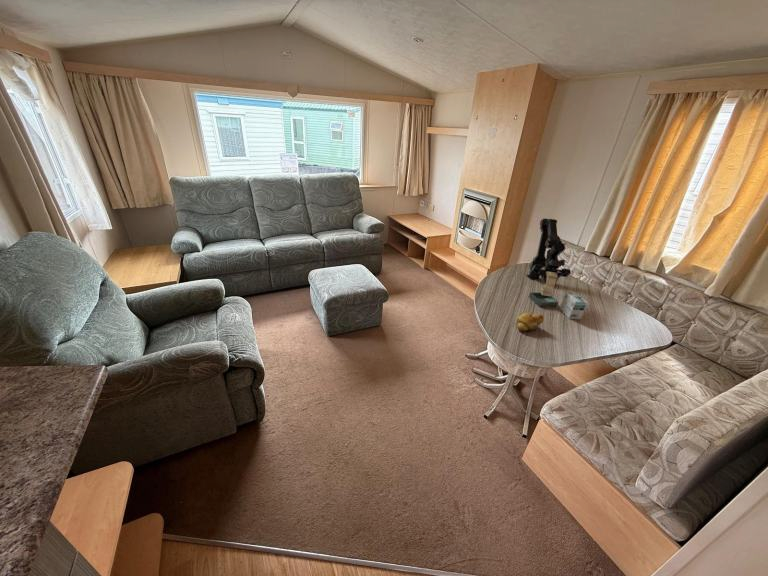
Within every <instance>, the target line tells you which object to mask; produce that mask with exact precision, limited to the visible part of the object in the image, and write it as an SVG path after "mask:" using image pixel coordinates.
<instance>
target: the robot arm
mask: <svg viewBox="0 0 768 576" xmlns="http://www.w3.org/2000/svg"><path fill="white" fill-rule="evenodd" d="M557 224H558V220H557V219H555V218H554V219H553V218H542V219H541V220H540V221H539V229H540V232H541V233H540V238H539V242H538V248H537V253H536V255H535V256H534V257H533V258H532V260H531V262H530V263H529V265H528V268H529V270H530V271H529V272H528V273H529V274H526V277H528V278H529V279H531V280H532V281H533V280H534V281H535V280H537V281H538V280H539V281H540V280H542V281H543V282H542V283H544V284H546V274H547V272H552V273H556V274H557V276H558V278H557V280H556V283H555V285H554V287H555V286H556V284H557V282H558V280H559V278H561V277H563V278H566V277H569V276H570V275H571V273H572V271H571V269H569V268H563V267H564V266H565V262H566V261H565V259H560V260H559V258H558V257H559V256H560V255H561V254H562V253H563V252H564V251H565V249H566V245H565V244H564V243H563V242H562V240H561V237H560V236H559V235H558V229H557V228H558V226H557ZM560 267H562V268H561V269H559V268H560ZM540 277H541V278H540Z"/></svg>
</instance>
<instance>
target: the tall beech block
mask: <svg viewBox="0 0 768 576" xmlns="http://www.w3.org/2000/svg"><path fill="white" fill-rule="evenodd" d="M557 278H558V276H557V274H556V273H554V272H546V284H544V282H542V286H541V289H540V292H541V294H542V295H545V296H552V292H553V290H554V288H555V286H556V284H557V282H556V280H557ZM558 279H559V278H558ZM557 281H558V280H557ZM555 283H556V284H555ZM554 285H555V286H554Z"/></svg>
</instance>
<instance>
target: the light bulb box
mask: <svg viewBox="0 0 768 576" xmlns="http://www.w3.org/2000/svg"><path fill="white" fill-rule="evenodd" d="M561 301H562V302H561V304H560V306H559V310H560V311H561V312H562V313H563V314H564V315H565V317H566V318H567V319H570V320H581V319H582V318H583V315H584V313H585V311H586V308H587V306H588V304H589V302H588V301H587V300H586V299H585V298H584V297H583V296H581V294H579V292H569V291H566V292H565V295H564V296H563V300H561Z"/></svg>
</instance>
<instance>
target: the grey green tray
mask: <svg viewBox="0 0 768 576" xmlns="http://www.w3.org/2000/svg"><path fill="white" fill-rule="evenodd" d="M529 297H530V298H531V299H532V300H533V301H534V302H535V303H534V302H533V301H532V300H531V299H530V298H529ZM528 298H529V299H530V300H531V301H532V302H533V303H534V304H535V305H537V306H538V308H547V307H548V308H550V307H551V308H552V307H553V308H555V307H558V305H559V301H558V300H557V299H556V298H554V297H553V296H552V295H551V296H545V295H542V294H541V292H529V295H528Z"/></svg>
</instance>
